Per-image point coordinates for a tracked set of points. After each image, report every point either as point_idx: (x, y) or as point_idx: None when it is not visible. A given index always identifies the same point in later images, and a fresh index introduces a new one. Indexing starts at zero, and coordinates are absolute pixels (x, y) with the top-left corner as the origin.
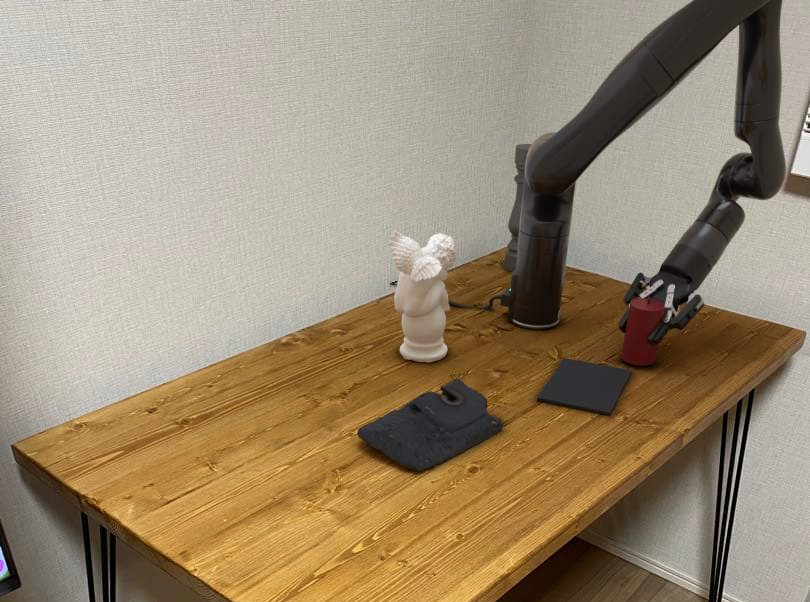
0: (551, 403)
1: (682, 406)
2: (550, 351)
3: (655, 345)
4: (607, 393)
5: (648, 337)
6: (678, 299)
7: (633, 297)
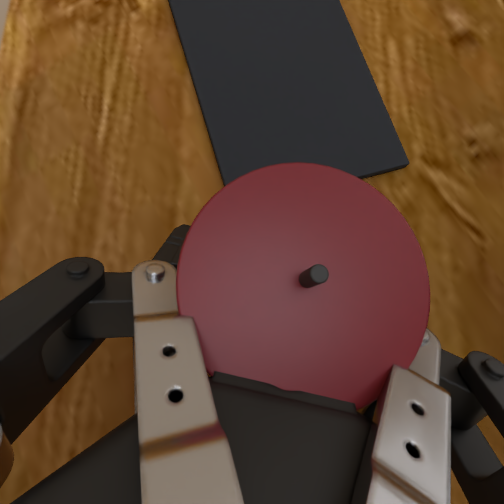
0: None
1: (39, 127)
2: (465, 197)
3: None
4: (216, 57)
5: None
6: (98, 443)
7: (490, 465)
